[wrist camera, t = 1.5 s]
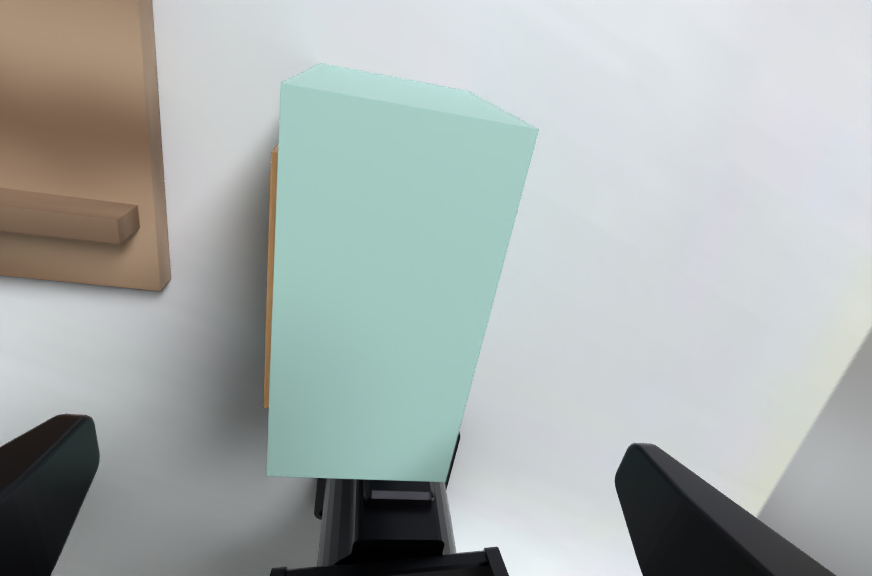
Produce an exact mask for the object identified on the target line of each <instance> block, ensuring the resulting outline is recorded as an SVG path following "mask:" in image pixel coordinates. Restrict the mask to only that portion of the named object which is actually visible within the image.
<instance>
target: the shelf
mask: <svg viewBox="0 0 872 576" xmlns="http://www.w3.org/2000/svg"><path fill="white" fill-rule="evenodd" d="M0 275H1V276H12V277H22V278H32V279H42V280H53V281H63V282H73V283H84V284H94V285H104V286H114V287H125V288H135V289H145V290H156V291H161V290H162V289H163V288H164V287H165V285H166V284H167V283H168V282H169V281H170V279H171V274H170V259H169V244H168V229H167V215H166V200H165V185H164V170H163V155H162V141H161V126H160V111H159V96H158V82H157V67H156V52H155V37H154V23H153V8H152V0H0Z"/></svg>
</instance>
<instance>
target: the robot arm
mask: <svg viewBox="0 0 872 576" xmlns="http://www.w3.org/2000/svg"><path fill="white" fill-rule="evenodd" d="M459 441H460V432H459V433H458V437H457V441H456V444H455V448H454V452H453V456H452V460H451V463H450V467H449V471H448V475H447V478H446V482H429V481H398V480H368V479H337V478H318V481H317V491H316V500H315V510H314V514H315V516H316V518H318V519H321V520H322V524H321V534H320V544H319V554H318V563H317V567H307V568H296V569H288V568H287V567H279V568H272V570H271V573H270V576H509V575H508V572H507V570H506V567H505V564H504V562H503V559H502V556H501V554H500V551H499V548H498V547H490V548H484V551H474V552H464V553H456V548H455V542H454V536H453V530H452V523H451V517H450V511H449V505H448V499H447V493H446V489H447V485H448V481H449V478H450V474H451V470H452V467H453V463H454V459H455V455H456V452H457V448H458V444H459ZM99 459H100V454H99V448H98V442H97V436H96V430H95V424H94V421H93V419H92V418H91V417H90V416H87V415H75V414H60V415H57V416H55V417H53V418H51V419H49V420H47V421H46V422H44V423H42V424H40V425H39V426H37V427H35V428H33V429H31V430H30V431H28V432H26V433H24V434H22V435H21V436H19V437H17V438H15V439H14V440H12V441H10V442H8V443H6V444H5V445H3V446H1V447H0V576H50V575H51V573H52V571H53V569H54V567H55V565H56V563H57V561H58V559H59V556H60V554H61V552H62V550H63V547H64V545H65V543H66V540H67V538H68V536H69V534H70V531H71V529H72V527H73V524H74V522H75V520H76V518H77V515H78V513H79V511H80V508H81V506H82V504H83V502H84V499H85V497H86V495H87V492H88V490H89V488H90V485H91V483H92V481H93V479H94V476H95V474H96V472H97V469H98V465H99ZM615 487H616V491H617V494H618V497H619V501H620V504H621V507H622V511H623V514H624V517H625V521H626V524H627V527H628V530H629V534H630V537H631V540H632V544H633V547H634V550H635V554H636V557H637V560H638V563H639V566H640V569H641V572H642V574H643V576H836V575H835V574H833V573H832V572H831V571H829V570H828V569H826V568H825V567H824V566H822V565H821V564H820V563H818V562H817V561H815V560H814V559H813V558H811V557H810V556H808V555H807V554H806V553H804V552H803V551H801V550H800V549H798V548H797V547H796V546H795V545H793V544H792V543H790V542H789V541H788V540H786V539H785V538H783V537H782V536H781V535H779V534H778V533H777V532H775V531H774V530H772V529H771V528H770V527H768V526H767V525H765V524H764V523H763V522H761V521H760V520H758V519H757V518H756V517H754V516H753V515H752V514H750V513H749V512H747V511H746V510H745V509H743V508H742V507H740V506H739V505H738V504H736V503H735V502H734V501H732V500H731V499H729V498H728V497H727V496H725V495H724V494H722V493H721V492H720V491H718V490H717V489H716V488H714V487H713V486H711V485H710V484H709V483H707V482H706V481H704V480H703V479H702V478H700V477H699V476H698V475H696V474H695V473H693V472H692V471H691V470H689V469H688V468H686V467H685V466H684V465H682V464H681V463H679V462H678V461H677V460H675V459H674V458H673V457H671V456H670V455H668V454H667V453H666V452H664V451H663V450H661V449H660V448H659V447H657V446H656V445H653V444H647V443H633V444H631V445H630V446H629V447H628V449H627V451H626V453H625V455H624V457H623V459H622V461H621V464H620V466H619V468H618V470H617V472H616V475H615Z"/></svg>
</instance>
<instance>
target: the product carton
mask: <svg viewBox="0 0 872 576" xmlns="http://www.w3.org/2000/svg"><path fill="white" fill-rule="evenodd" d="M538 131H539V129H538V128H536V127H534V126H532V125H530V124H529V123H527V122H525V121H523V120H521V119H519V118H518V117H516V116H514V115H512V114H510V113H508V112H506V111H505V110H503V109H501V108H499V107H497V106H495V105H494V104H492V103H490V102H488V101H486V100H484V99H482V98H481V97H479V96H477V95H475V94H473V93H471V92H470V91H466V90H460V89H455V88H450V87H445V86H439V85H434V84H429V83H423V82H418V81H413V80H408V79H402V78H397V77H392V76H386V75H381V74H376V73H371V72H365V71H360V70H355V69H349V68H344V67H339V66H334V65H328V64H323V63H320V64H318V65H316V66H314V67H312V68H310V69H308V70H306V71H304V72H302V73H300V74H298V75H296V76H294V77H292V78H290V79H288V80H286V81H283V82H281V90H280V117H279V144H278V145H277V146H276V147H275V148H274V149H273V150H272V151H271V173H270V206H269V239H268V272H267V305H266V338H265V371H264V404H263V408H269V417H268V444H267V471H266V476H276V477H306V478H337V479H368V480H398V481H429V482H446V478H447V475H448V471H449V467H450V463H451V460H452V456H453V452H454V448H455V444H456V441H457V437H458V433H459V429H460V426H461V422H462V418H463V414H464V410H465V407H466V403H467V399H468V395H469V392H470V388H471V384H472V380H473V376H474V373H475V369H476V365H477V361H478V357H479V354H480V350H481V346H482V342H483V339H484V335H485V331H486V327H487V323H488V320H489V316H490V312H491V308H492V305H493V301H494V297H495V293H496V289H497V286H498V282H499V278H500V274H501V271H502V267H503V263H504V259H505V255H506V252H507V248H508V244H509V240H510V236H511V233H512V229H513V225H514V221H515V218H516V214H517V210H518V206H519V202H520V199H521V195H522V191H523V187H524V184H525V180H526V176H527V172H528V168H529V165H530V161H531V157H532V153H533V150H534V146H535V142H536V138H537V134H538Z"/></svg>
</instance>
